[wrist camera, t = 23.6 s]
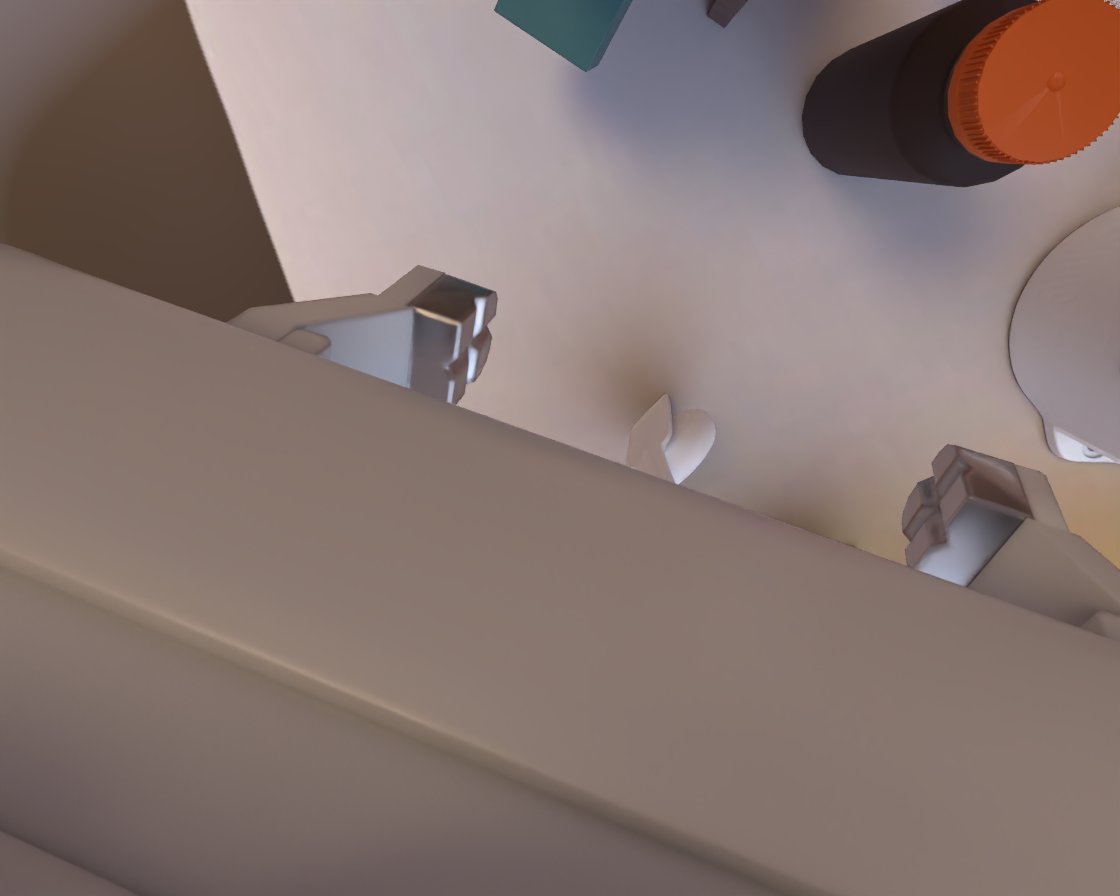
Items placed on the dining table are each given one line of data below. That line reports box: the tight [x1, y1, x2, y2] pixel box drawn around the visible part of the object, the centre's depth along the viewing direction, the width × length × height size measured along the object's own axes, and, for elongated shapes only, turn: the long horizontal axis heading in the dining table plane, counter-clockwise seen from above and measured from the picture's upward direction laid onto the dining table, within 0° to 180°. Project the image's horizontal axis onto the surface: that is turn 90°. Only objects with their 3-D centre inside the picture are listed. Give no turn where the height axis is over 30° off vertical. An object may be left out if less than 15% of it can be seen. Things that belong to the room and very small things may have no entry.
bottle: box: [802, 0, 1120, 187], centre depth 32 cm, size 7×7×20 cm
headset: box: [626, 394, 716, 484], centre depth 43 cm, size 20×7×18 cm, turn 44°
